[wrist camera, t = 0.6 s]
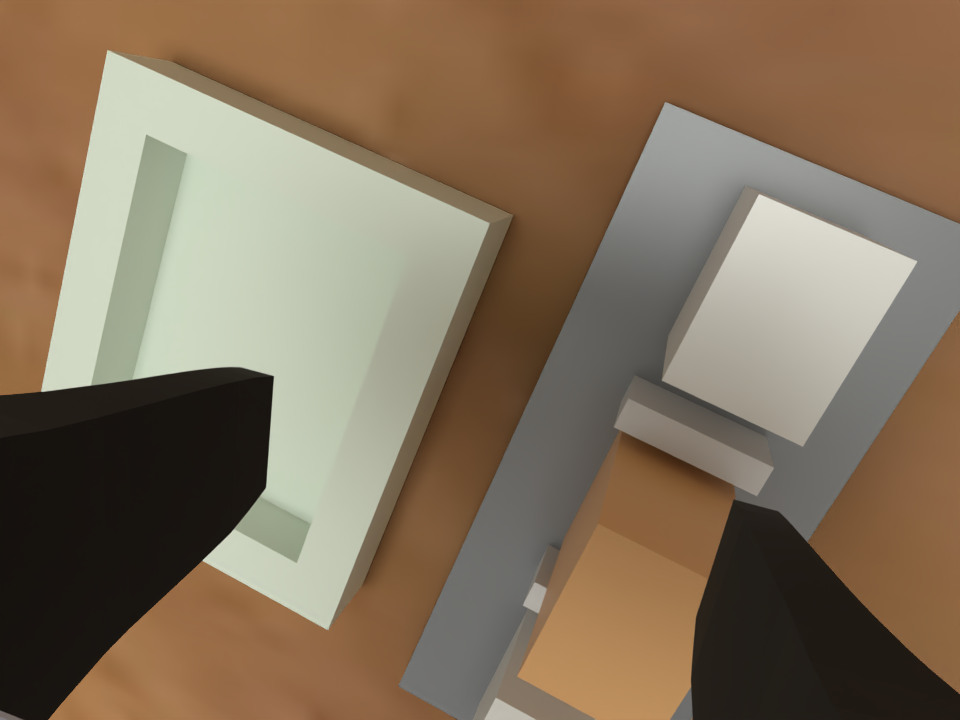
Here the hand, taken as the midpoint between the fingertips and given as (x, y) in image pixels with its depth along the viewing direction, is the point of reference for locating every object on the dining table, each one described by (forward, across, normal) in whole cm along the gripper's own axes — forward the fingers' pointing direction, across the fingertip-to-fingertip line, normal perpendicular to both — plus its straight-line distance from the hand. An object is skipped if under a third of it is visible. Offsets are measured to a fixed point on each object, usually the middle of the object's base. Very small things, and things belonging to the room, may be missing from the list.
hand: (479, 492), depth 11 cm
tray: (+10, +9, +3) cm, 14 cm away
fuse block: (+10, -3, +4) cm, 11 cm away
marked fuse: (+9, -3, +4) cm, 10 cm away
